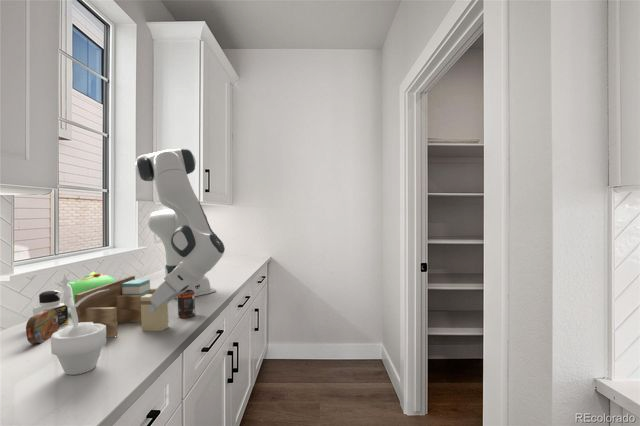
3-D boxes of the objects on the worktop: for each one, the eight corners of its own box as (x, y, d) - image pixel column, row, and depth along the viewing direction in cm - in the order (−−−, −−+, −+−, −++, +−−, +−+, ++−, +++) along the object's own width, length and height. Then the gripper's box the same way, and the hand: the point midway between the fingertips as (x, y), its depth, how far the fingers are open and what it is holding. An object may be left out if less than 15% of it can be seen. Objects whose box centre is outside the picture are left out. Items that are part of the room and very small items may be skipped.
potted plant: (42, 384, 84) (38, 275, 83) (64, 363, 95) (61, 267, 95) (103, 376, 87) (99, 271, 86) (118, 357, 98) (115, 264, 98)
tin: (36, 347, 107) (35, 318, 107) (24, 348, 107) (22, 319, 106) (61, 330, 122) (60, 305, 122) (50, 331, 121) (49, 305, 121)
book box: (168, 326, 123) (167, 293, 123) (162, 330, 119) (161, 297, 119) (148, 326, 123) (147, 294, 123) (141, 330, 119) (140, 297, 119)
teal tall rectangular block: (150, 313, 139) (149, 279, 138) (140, 319, 132) (139, 283, 131) (134, 313, 139) (133, 279, 139) (123, 319, 132) (121, 283, 132)
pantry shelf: (158, 311, 141) (157, 275, 141) (109, 340, 111) (107, 294, 111) (132, 311, 142) (130, 275, 141) (76, 340, 112) (74, 294, 111)
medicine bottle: (48, 330, 122) (46, 294, 122) (33, 328, 125) (31, 293, 124) (68, 323, 129) (67, 289, 129) (54, 321, 131) (53, 288, 131)
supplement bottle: (198, 314, 135) (197, 284, 135) (184, 319, 130) (183, 287, 130) (188, 312, 139) (187, 282, 139) (174, 316, 134) (173, 286, 134)
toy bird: (91, 317, 136) (90, 277, 136) (56, 314, 141) (54, 276, 140) (128, 304, 154) (127, 269, 153) (96, 302, 158) (95, 268, 158)
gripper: (191, 264, 131) (165, 292, 131) (164, 275, 110) (133, 308, 111) (204, 277, 130) (178, 304, 131) (179, 290, 110) (148, 323, 111)
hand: (157, 306), depth 121 cm, fingers open, 8 cm apart
